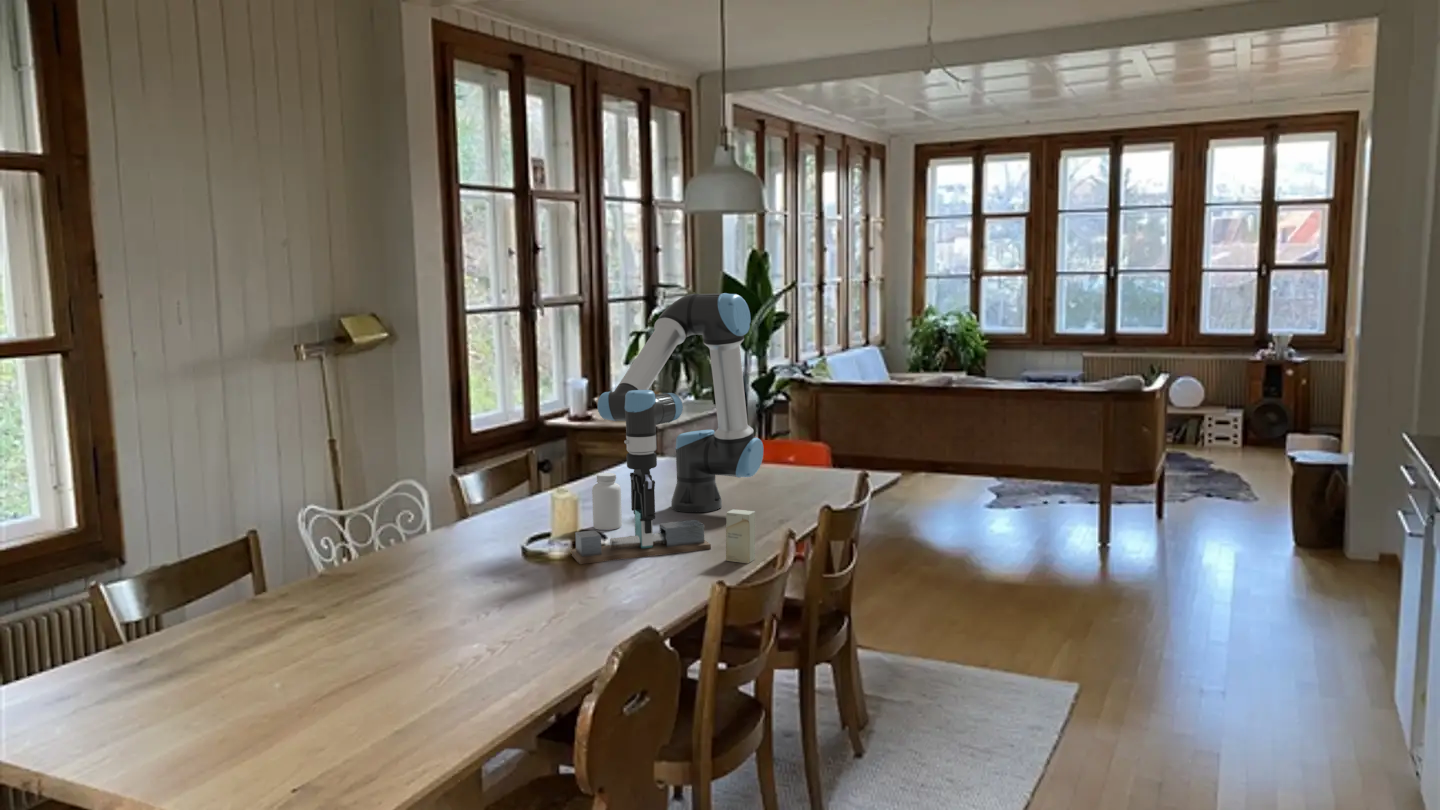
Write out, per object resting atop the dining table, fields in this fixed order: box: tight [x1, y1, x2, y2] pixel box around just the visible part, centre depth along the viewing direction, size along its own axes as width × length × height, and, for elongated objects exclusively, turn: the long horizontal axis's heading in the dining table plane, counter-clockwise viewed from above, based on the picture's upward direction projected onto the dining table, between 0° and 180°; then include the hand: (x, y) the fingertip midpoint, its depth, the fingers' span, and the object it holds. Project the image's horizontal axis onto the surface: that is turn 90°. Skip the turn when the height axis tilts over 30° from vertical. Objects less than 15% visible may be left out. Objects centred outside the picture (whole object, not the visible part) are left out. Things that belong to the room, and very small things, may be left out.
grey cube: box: [575, 529, 602, 557], centre depth 258 cm, size 5×6×5 cm
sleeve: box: [659, 519, 705, 547], centre depth 267 cm, size 10×6×5 cm, turn 111°
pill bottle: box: [591, 472, 623, 531], centre depth 289 cm, size 8×8×15 cm
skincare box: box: [725, 508, 756, 564], centre depth 253 cm, size 6×4×12 cm
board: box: [570, 539, 712, 565], centre depth 263 cm, size 34×10×1 cm, turn 111°
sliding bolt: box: [609, 509, 666, 550], centre depth 264 cm, size 23×5×9 cm, turn 111°
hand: (643, 542), depth 263 cm, fingers closed on sliding bolt, 5 cm apart
